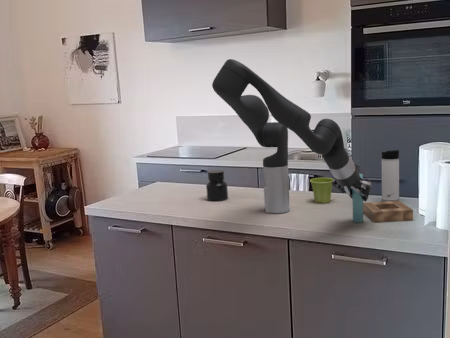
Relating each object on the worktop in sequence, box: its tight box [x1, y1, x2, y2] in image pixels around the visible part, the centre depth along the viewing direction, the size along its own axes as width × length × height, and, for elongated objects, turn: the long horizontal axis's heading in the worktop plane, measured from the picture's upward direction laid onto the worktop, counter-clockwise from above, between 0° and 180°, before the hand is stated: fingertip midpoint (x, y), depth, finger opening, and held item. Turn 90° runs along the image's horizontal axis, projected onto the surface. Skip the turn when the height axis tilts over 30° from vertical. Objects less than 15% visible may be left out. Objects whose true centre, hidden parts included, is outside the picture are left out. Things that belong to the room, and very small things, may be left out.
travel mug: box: [381, 149, 400, 202], centre depth 186 cm, size 6×7×20 cm
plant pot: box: [309, 177, 334, 204], centre depth 193 cm, size 9×9×9 cm
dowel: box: [351, 173, 364, 224], centre depth 163 cm, size 3×3×16 cm
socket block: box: [363, 200, 414, 223], centre depth 168 cm, size 13×13×4 cm
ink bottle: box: [205, 169, 229, 202], centre depth 208 cm, size 10×9×12 cm
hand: (360, 198), depth 164 cm, fingers closed on dowel, 3 cm apart
